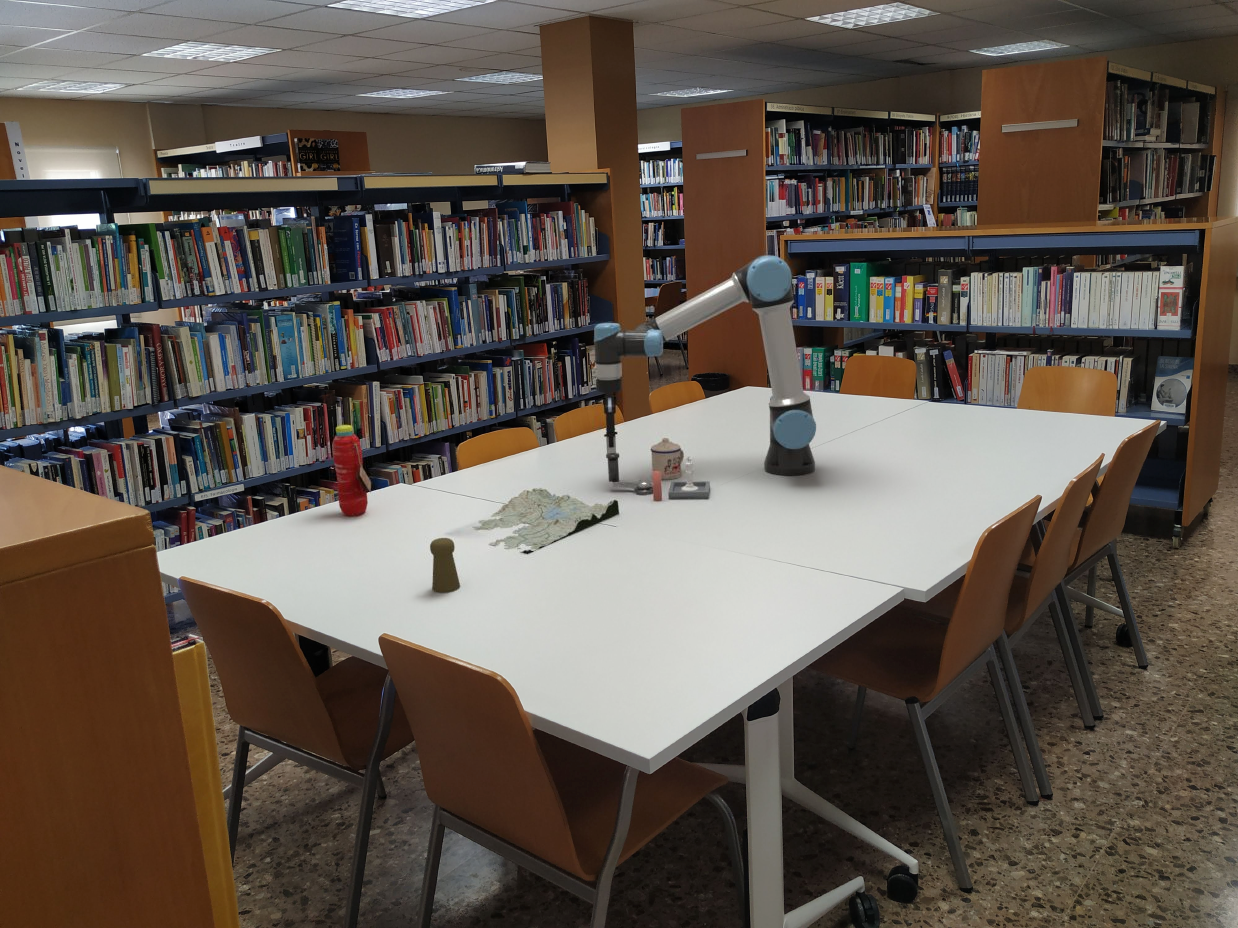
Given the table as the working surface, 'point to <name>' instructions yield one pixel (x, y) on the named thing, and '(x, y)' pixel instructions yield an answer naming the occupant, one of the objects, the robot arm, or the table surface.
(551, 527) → the topographic map model
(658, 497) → the post
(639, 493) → the crank base
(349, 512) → the water bottle
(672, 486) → the tray
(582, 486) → the table surface
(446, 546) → the cork
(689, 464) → the chess piece
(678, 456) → the teacup with lid
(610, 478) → the crank arm
